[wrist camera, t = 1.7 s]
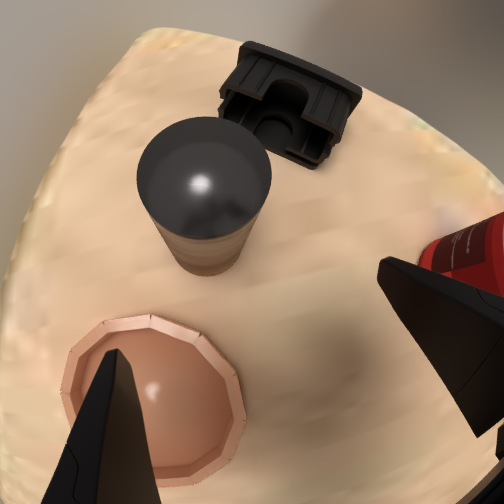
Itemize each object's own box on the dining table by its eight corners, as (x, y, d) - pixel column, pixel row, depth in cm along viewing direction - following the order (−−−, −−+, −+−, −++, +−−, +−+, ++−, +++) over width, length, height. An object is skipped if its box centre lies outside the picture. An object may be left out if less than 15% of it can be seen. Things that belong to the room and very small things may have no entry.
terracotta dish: (254, 459, 18) (260, 474, 16) (103, 472, 16) (94, 485, 14) (221, 304, 21) (222, 302, 18) (62, 326, 18) (46, 326, 16)
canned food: (466, 320, 23) (552, 311, 13) (412, 317, 22) (512, 310, 12) (466, 247, 25) (544, 218, 14) (414, 233, 24) (502, 191, 14)
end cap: (338, 120, 26) (368, 75, 19) (319, 175, 24) (353, 131, 17) (245, 79, 25) (255, 28, 19) (212, 128, 24) (215, 73, 17)
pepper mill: (247, 269, 21) (284, 224, 11) (176, 281, 20) (141, 246, 10) (234, 202, 22) (257, 111, 12) (167, 213, 21) (135, 126, 11)
